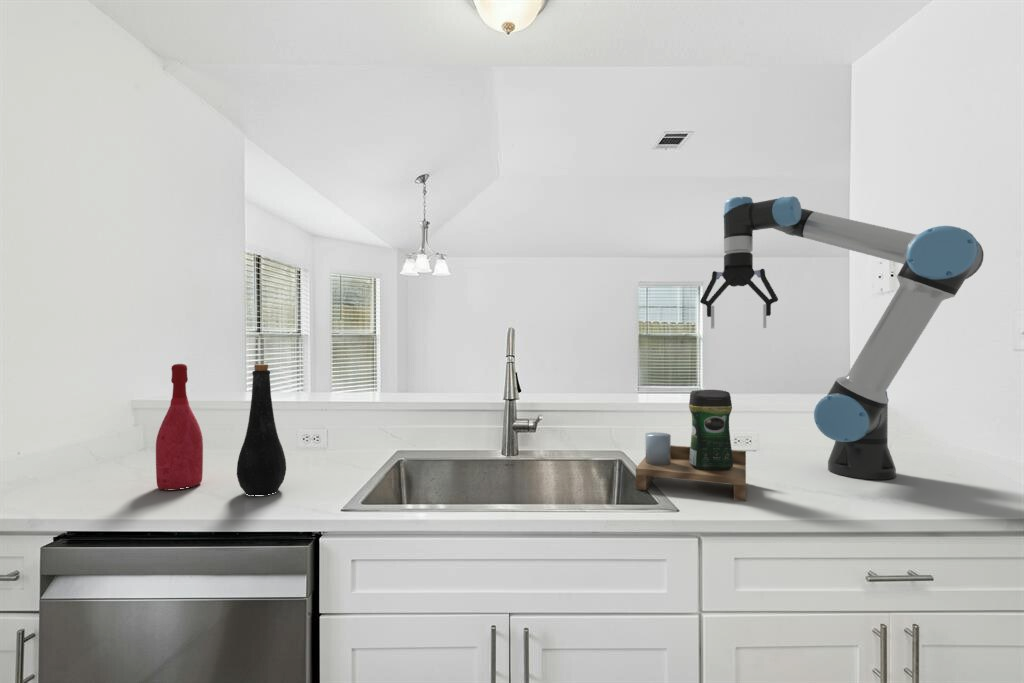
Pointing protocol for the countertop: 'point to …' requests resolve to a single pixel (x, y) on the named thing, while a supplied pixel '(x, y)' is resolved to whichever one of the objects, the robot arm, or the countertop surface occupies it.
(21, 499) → the countertop surface
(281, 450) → the bottle
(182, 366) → the wine bottle
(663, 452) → the grey blue cylinder
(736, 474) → the shelf
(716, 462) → the coffee jar
